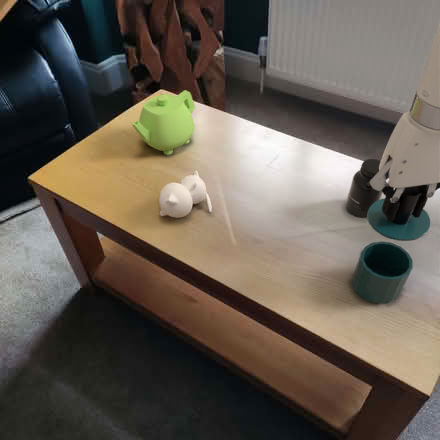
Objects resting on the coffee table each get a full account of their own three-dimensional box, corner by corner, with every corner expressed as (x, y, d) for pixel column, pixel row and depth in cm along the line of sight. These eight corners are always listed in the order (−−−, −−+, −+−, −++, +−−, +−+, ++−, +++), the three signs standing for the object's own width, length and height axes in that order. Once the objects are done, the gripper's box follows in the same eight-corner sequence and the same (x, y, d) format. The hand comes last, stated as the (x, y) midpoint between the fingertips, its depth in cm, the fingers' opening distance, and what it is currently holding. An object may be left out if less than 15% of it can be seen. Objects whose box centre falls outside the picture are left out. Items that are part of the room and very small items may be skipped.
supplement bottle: (342, 215, 96) (353, 171, 87) (348, 196, 100) (359, 152, 91) (373, 223, 95) (388, 178, 85) (378, 203, 98) (393, 158, 89)
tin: (389, 263, 88) (400, 238, 82) (408, 299, 82) (421, 275, 76) (345, 270, 87) (353, 245, 81) (362, 307, 81) (371, 282, 76)
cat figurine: (197, 159, 95) (157, 185, 90) (227, 197, 96) (189, 225, 91) (185, 178, 103) (147, 203, 98) (212, 213, 104) (177, 239, 98)
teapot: (157, 169, 109) (149, 124, 99) (123, 149, 115) (112, 105, 105) (211, 134, 118) (208, 89, 108) (177, 117, 123) (172, 73, 113)
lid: (412, 198, 76) (426, 164, 70) (439, 239, 70) (456, 205, 64) (357, 206, 75) (367, 172, 69) (379, 247, 69) (392, 214, 63)
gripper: (486, 87, 59) (437, 192, 74) (370, 101, 58) (343, 205, 72) (518, 116, 54) (459, 222, 69) (392, 132, 53) (359, 236, 68)
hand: (400, 212), depth 71 cm, fingers closed on lid, 3 cm apart
